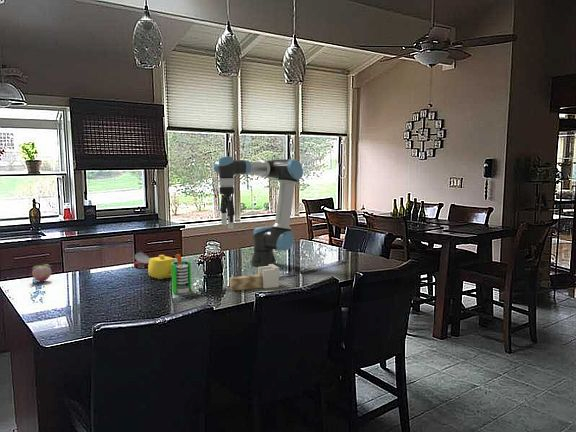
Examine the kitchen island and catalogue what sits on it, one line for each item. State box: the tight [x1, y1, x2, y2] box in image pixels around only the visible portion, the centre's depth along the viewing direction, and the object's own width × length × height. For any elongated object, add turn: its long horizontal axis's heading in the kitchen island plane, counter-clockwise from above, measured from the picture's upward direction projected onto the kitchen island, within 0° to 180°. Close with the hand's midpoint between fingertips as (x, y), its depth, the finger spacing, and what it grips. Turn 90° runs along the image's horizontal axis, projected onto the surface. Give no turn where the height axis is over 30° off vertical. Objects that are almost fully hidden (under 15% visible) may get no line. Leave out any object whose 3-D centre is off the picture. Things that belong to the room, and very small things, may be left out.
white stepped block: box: [257, 264, 280, 289], centre depth 242 cm, size 9×8×10 cm
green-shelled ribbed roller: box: [171, 253, 192, 294], centre depth 232 cm, size 9×8×18 cm
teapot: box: [147, 254, 176, 280], centre depth 263 cm, size 20×12×12 cm, turn 45°
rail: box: [229, 274, 263, 292], centre depth 239 cm, size 20×4×6 cm, turn 111°
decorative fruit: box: [31, 263, 52, 282], centre depth 253 cm, size 9×8×10 cm
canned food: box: [133, 251, 151, 269], centre depth 288 cm, size 11×10×10 cm
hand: (227, 226), depth 250 cm, fingers open, 13 cm apart
